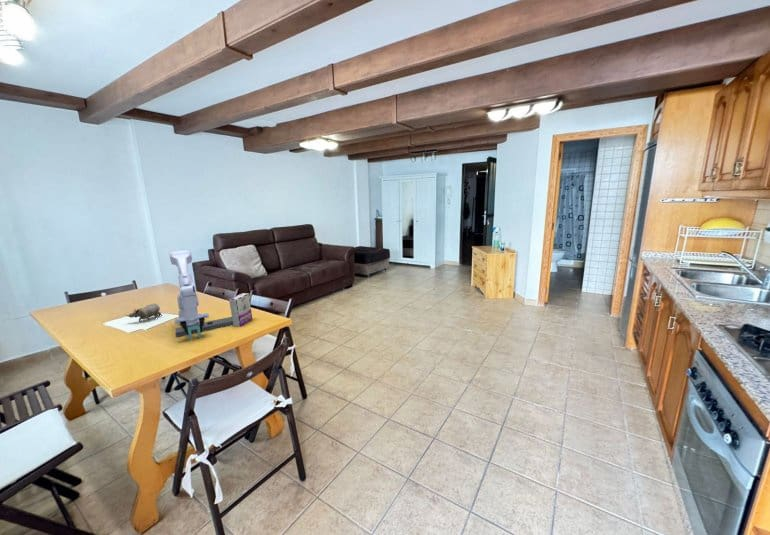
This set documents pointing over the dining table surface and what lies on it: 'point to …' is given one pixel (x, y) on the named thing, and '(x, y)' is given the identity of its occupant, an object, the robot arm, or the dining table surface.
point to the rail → (206, 326)
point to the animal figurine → (146, 312)
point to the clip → (193, 329)
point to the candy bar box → (240, 309)
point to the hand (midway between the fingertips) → (194, 333)
